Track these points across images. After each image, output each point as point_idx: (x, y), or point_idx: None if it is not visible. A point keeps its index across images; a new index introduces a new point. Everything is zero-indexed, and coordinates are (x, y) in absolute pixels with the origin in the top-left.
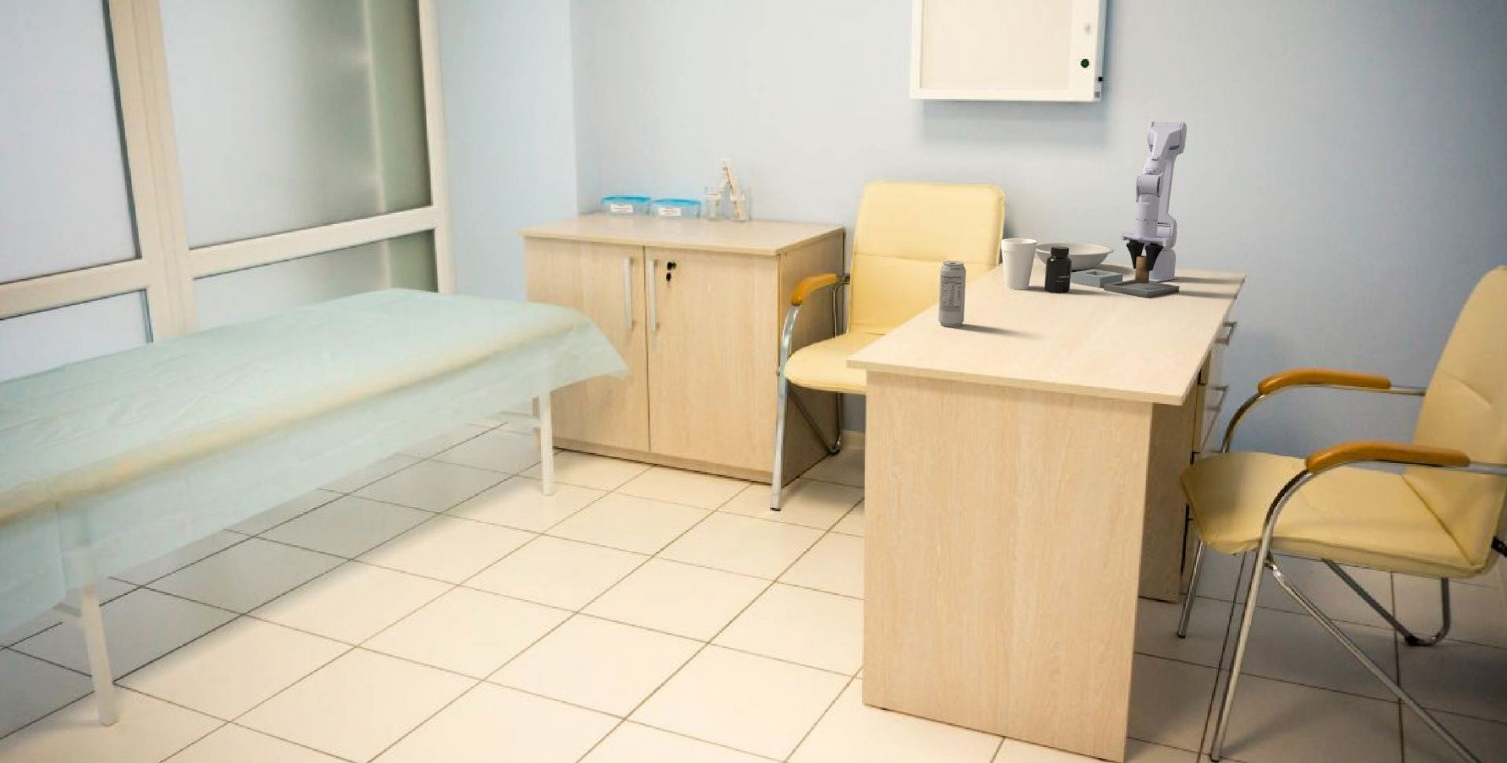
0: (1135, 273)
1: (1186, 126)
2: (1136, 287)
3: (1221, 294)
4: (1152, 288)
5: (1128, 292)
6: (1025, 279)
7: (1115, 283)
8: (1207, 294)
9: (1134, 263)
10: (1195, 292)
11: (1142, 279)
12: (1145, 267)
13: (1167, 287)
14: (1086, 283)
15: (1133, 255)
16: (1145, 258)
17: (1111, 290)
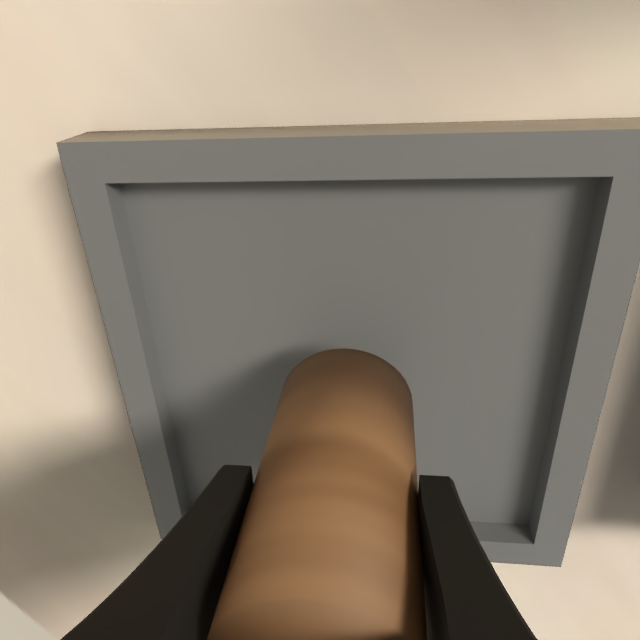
0: (399, 429)
1: None
2: (399, 369)
3: (18, 589)
4: None
5: (304, 131)
6: None
7: (592, 284)
8: (45, 549)
9: (429, 523)
10: (123, 554)
11: (294, 383)
12: (251, 495)
13: (161, 453)
14: None
15: (459, 634)
16: (224, 609)
17: (534, 121)
